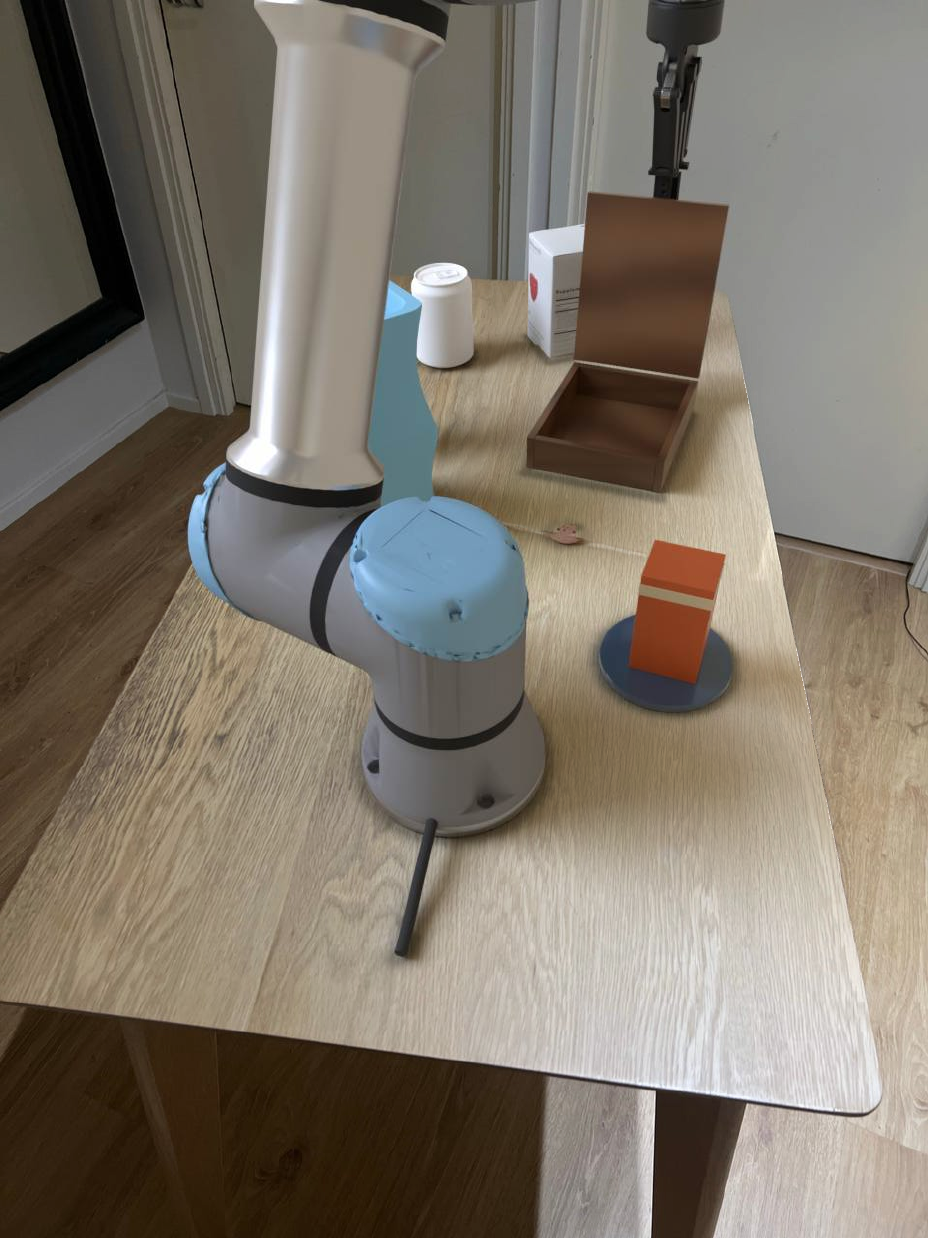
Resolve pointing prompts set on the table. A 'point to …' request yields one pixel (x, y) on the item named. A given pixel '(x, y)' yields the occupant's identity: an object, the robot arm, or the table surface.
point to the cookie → (565, 534)
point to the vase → (402, 405)
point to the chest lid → (648, 281)
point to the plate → (658, 688)
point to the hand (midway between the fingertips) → (662, 230)
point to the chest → (613, 426)
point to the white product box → (554, 288)
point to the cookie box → (675, 610)
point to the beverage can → (444, 315)
